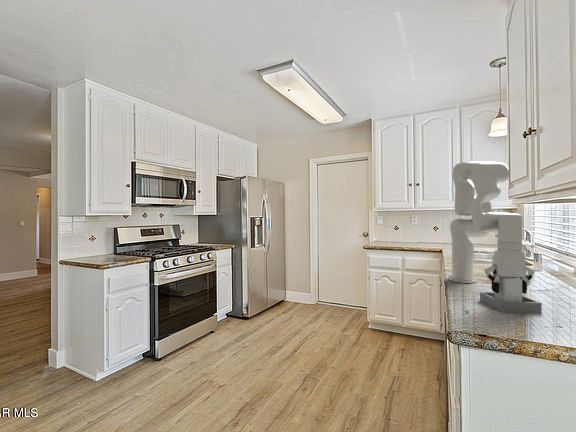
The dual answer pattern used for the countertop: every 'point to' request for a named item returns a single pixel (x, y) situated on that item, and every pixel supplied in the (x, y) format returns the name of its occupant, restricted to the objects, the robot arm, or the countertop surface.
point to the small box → (509, 290)
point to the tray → (511, 304)
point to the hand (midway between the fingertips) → (509, 292)
